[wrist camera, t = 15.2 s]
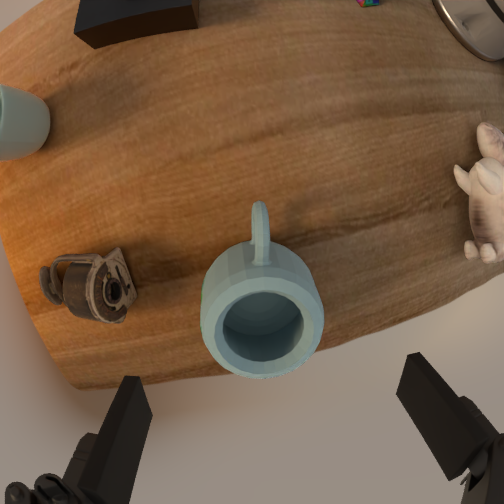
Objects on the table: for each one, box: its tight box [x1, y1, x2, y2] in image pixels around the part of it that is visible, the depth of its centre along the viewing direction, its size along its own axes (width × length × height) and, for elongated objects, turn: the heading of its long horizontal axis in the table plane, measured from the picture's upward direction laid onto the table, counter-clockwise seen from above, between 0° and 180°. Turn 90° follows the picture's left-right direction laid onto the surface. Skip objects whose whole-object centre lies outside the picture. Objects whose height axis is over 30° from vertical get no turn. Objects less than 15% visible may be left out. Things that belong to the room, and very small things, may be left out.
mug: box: [200, 200, 324, 379], centre depth 26 cm, size 15×11×10 cm
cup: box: [0, 83, 51, 162], centre depth 20 cm, size 8×8×10 cm
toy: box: [454, 122, 504, 263], centre depth 27 cm, size 28×8×15 cm
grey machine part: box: [39, 247, 137, 324], centre depth 26 cm, size 7×13×10 cm
